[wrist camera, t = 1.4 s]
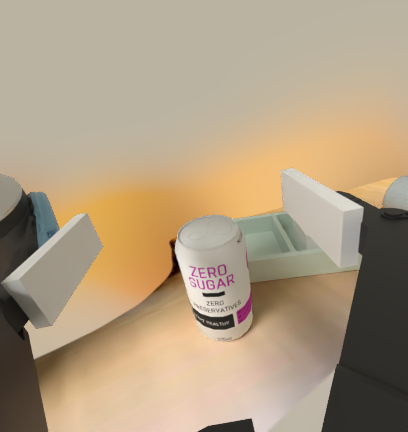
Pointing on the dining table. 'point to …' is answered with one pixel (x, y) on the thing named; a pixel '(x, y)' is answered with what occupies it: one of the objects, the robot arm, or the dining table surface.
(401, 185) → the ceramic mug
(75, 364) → the dining table surface
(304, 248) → the pale grey square block
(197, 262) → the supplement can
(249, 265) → the divided tray
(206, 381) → the dining table surface
